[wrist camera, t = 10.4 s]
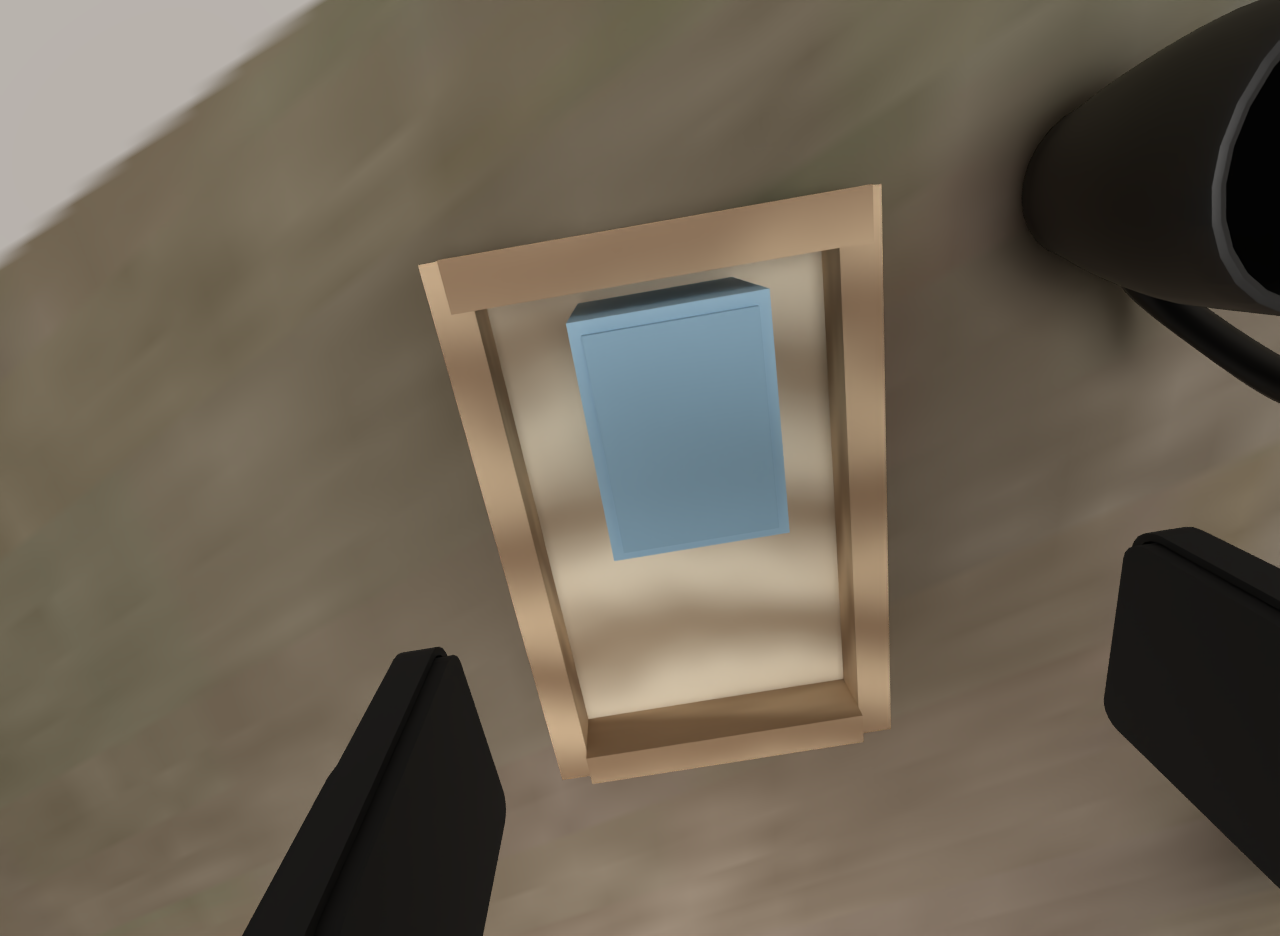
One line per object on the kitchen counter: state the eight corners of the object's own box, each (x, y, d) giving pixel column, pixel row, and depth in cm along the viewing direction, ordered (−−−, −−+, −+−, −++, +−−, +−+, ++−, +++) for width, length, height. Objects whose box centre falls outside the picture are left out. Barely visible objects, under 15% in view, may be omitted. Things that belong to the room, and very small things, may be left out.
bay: (866, 685, 32) (920, 781, 26) (567, 732, 32) (556, 837, 26) (849, 190, 23) (923, 175, 18) (441, 262, 23) (386, 268, 18)
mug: (1032, 404, 27) (1243, 487, 18) (962, 125, 22) (1190, 50, 14) (1222, 319, 26) (1547, 363, 17) (1184, 12, 22) (1586, -149, 13)
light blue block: (751, 469, 26) (792, 536, 20) (614, 492, 26) (614, 565, 20) (732, 276, 23) (772, 289, 17) (577, 303, 23) (565, 325, 17)
